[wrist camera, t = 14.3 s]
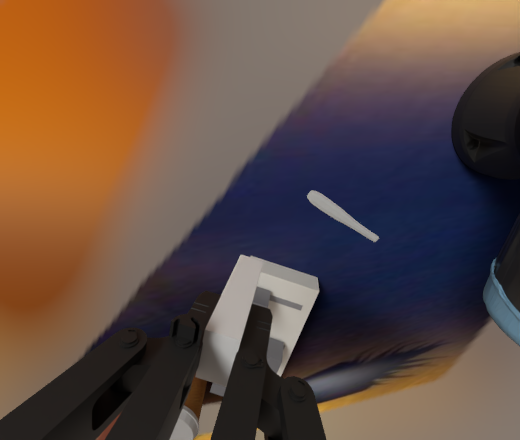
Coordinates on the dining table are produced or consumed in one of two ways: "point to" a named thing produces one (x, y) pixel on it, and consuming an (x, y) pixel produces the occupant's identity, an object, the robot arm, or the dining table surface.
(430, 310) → the dining table surface
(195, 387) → the disposable coffee cup
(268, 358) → the tab
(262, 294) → the tab
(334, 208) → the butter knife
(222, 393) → the tab
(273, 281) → the switch bank
